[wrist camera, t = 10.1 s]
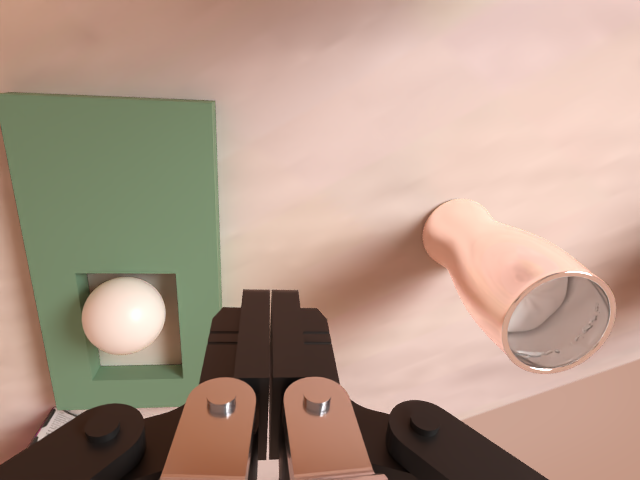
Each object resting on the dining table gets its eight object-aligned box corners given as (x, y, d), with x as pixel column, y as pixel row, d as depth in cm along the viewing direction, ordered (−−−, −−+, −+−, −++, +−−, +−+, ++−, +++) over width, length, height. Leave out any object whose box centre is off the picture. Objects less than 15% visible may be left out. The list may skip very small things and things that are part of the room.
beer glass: (445, 283, 40) (535, 397, 26) (401, 228, 38) (475, 322, 24) (510, 235, 39) (640, 328, 25) (468, 175, 37) (587, 241, 23)
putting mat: (10, 92, 31) (-6, 93, 30) (215, 100, 33) (211, 102, 31) (67, 394, 41) (57, 410, 39) (224, 390, 42) (222, 405, 40)
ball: (85, 370, 35) (104, 305, 39) (164, 367, 36) (175, 305, 40) (59, 328, 31) (84, 261, 35) (150, 326, 31) (164, 261, 35)
